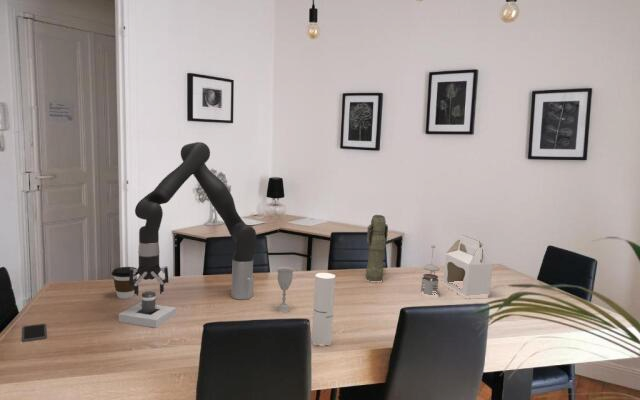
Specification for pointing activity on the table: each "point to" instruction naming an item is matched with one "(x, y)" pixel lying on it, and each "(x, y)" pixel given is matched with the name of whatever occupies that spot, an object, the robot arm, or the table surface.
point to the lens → (148, 302)
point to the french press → (427, 282)
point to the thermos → (376, 247)
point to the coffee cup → (123, 282)
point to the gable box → (468, 267)
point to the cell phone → (34, 332)
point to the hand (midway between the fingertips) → (149, 294)
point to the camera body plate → (154, 320)
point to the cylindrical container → (323, 308)
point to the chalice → (284, 284)
